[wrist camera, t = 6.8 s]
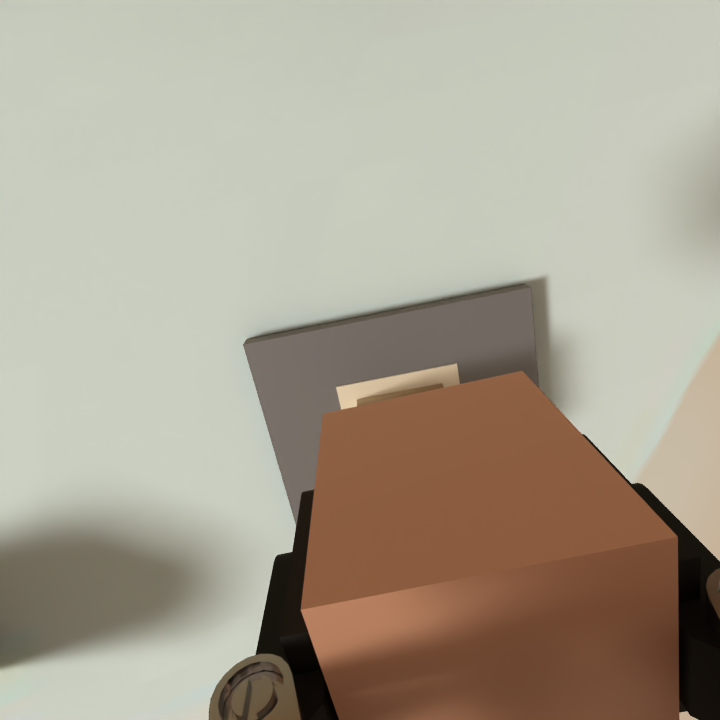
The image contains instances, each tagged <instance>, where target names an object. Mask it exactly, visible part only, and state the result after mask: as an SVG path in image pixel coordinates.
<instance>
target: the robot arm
mask: <svg viewBox="0 0 720 720" xmlns="http://www.w3.org/2000/svg"><path fill="white" fill-rule="evenodd" d="M582 435H583V436H584V437H585V438H586V439H587V440H588V441H589V443H590V444H591V445H592V446H593V447H594V448H595V449H596V450H597V451H598V452H599V453H600V454H601V455H602V456H603V457H604V459H605V460H606V461H607V462H608V463H609V464H610V465H611V466H612V467H613V468H614V469H615V470H616V471H617V472H618V473H619V475H620V476H621V477H622V478H623V479H624V480H625V481H626V482H627V483H628V484H629V485H630V486H631V487H632V488H633V489H634V491H635V492H636V493H637V494H638V495H639V496H640V497H641V498H642V499H643V500H644V501H645V502H646V503H647V504H648V505H649V507H650V508H651V509H652V510H653V511H654V512H655V513H656V514H657V515H658V516H659V517H660V518H661V519H662V520H663V521H664V523H665V524H666V525H667V526H668V527H669V528H670V529H671V530H672V531H673V532H674V533H675V534H676V535H677V536H678V620H679V712H685V711H688V712H689V714H690V716H692V717H695V718H696V719H698V720H720V561H719V560H717V558H716V557H715V556H713V554H712V553H711V552H710V551H709V550H708V549H707V548H706V547H705V546H704V545H703V544H702V543H701V542H700V541H699V540H698V539H697V538H696V537H695V536H694V535H693V534H692V533H691V532H690V531H689V530H688V529H687V528H686V527H685V526H684V525H683V524H682V523H681V522H680V521H679V520H678V519H677V518H676V517H675V516H674V515H673V514H672V513H671V512H670V511H669V510H668V509H667V508H666V507H665V506H664V505H663V504H662V503H661V502H660V501H659V500H658V499H657V498H656V497H655V496H654V494H652V492H650V490H649V489H648V488H646V487H645V486H644V485H643V484H640V483H635V484H631V483H630V482H629V481H628V480H627V479H626V478H625V477H624V476H623V474H622V473H621V472H620V471H619V470H618V469H617V468H616V467H615V466H614V465H613V464H612V463H611V462H610V461H609V460H608V459H607V458H606V457H605V455H604V454H603V453H602V452H601V451H600V450H599V449H598V448H597V447H596V446H595V445H594V444H593V443H592V442H591V441H590V440H589V439H588V438H587V436H585V435H584V434H582ZM313 497H314V490H309V491H304V492H302V494H301V499H300V506H299V512H298V519H297V525H296V532H295V538H294V545H293V552H290V553H285V554H280V555H277V556H276V558H275V561H274V565H273V570H272V575H271V580H270V585H269V590H268V595H267V600H266V605H265V610H264V615H263V620H262V626H261V631H260V636H259V641H258V646H257V651H256V655H255V656H251V657H248V658H246V659H244V660H243V661H241V662H239V663H237V664H236V665H235V666H233V667H232V668H231V669H230V670H229V671H228V672H227V673H226V674H225V675H224V676H223V677H222V679H221V680H220V682H219V683H218V684H217V686H216V688H215V690H214V692H213V695H212V697H211V700H210V707H209V720H339V718H338V715H337V713H336V710H335V707H334V704H333V701H332V698H331V695H330V692H329V690H328V687H327V684H326V681H325V678H324V675H323V672H322V670H321V667H320V664H319V661H318V658H317V655H316V652H315V649H314V647H313V644H312V641H311V638H310V635H309V632H308V629H307V626H306V624H305V621H304V618H303V615H302V612H301V603H302V594H303V585H304V576H305V568H306V559H307V550H308V541H309V532H310V523H311V515H312V506H313Z"/></svg>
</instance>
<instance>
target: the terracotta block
mask: <svg viewBox="0 0 720 720" xmlns="http://www.w3.org/2000/svg"><path fill="white" fill-rule="evenodd" d="M301 612H302V615H303V618H304V621H305V624H306V626H307V629H308V632H309V635H310V638H311V641H312V644H313V647H314V649H315V652H316V655H317V658H318V661H319V664H320V667H321V670H322V672H323V675H324V678H325V681H326V684H327V687H328V690H329V692H330V695H331V698H332V701H333V704H334V707H335V710H336V713H337V715H338V718H339V720H679V620H678V536H677V535H676V534H675V533H674V532H673V531H672V530H671V529H670V528H669V527H668V526H667V525H666V524H665V523H664V521H663V520H662V519H661V518H660V517H659V516H658V515H657V514H656V513H655V512H654V511H653V510H652V509H651V508H650V507H649V505H648V504H647V503H646V502H645V501H644V500H643V499H642V498H641V497H640V496H639V495H638V494H637V493H636V492H635V491H634V489H633V488H632V487H631V486H630V485H629V484H628V483H627V482H626V481H625V480H624V479H623V478H622V477H621V476H620V475H619V473H618V472H617V471H616V470H615V469H614V468H613V467H612V466H611V465H610V464H609V463H608V462H607V461H606V460H605V459H604V457H603V456H602V455H601V454H600V453H599V452H598V451H597V450H596V449H595V448H594V447H593V446H592V445H591V444H590V443H589V441H588V440H587V439H586V438H585V437H584V436H583V435H582V434H581V433H580V432H579V431H578V430H577V429H576V428H575V426H574V425H573V424H572V423H571V422H570V421H569V420H568V419H567V418H566V417H565V416H564V415H563V414H562V413H561V412H560V410H559V409H558V408H557V407H556V406H555V405H554V404H553V403H552V402H551V401H550V400H549V399H548V398H547V397H546V396H545V394H544V393H543V392H542V391H541V390H540V389H539V388H538V387H537V386H536V385H535V384H534V383H533V382H532V381H531V380H530V378H529V377H528V376H527V375H526V374H525V373H524V372H523V371H518V372H514V373H509V374H504V375H500V376H495V377H491V378H486V379H481V380H477V381H472V382H467V383H463V384H458V385H453V386H449V387H444V388H440V389H435V390H430V391H426V392H421V393H416V394H412V395H407V396H402V397H398V398H393V399H388V400H384V401H379V402H375V403H370V404H365V405H361V406H356V407H351V408H347V409H342V410H337V411H333V412H328V413H324V414H323V417H322V426H321V435H320V444H319V453H318V461H317V470H316V479H315V488H314V497H313V506H312V515H311V523H310V532H309V541H308V550H307V559H306V568H305V576H304V585H303V594H302V603H301Z"/></svg>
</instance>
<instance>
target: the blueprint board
mask: <svg viewBox="0 0 720 720" xmlns="http://www.w3.org/2000/svg"><path fill="white" fill-rule="evenodd" d="M243 346H244V349H245V353H246V356H247V359H248V363H249V366H250V370H251V373H252V376H253V380H254V383H255V387H256V390H257V393H258V397H259V400H260V404H261V407H262V411H263V414H264V417H265V421H266V424H267V428H268V431H269V434H270V438H271V441H272V445H273V448H274V451H275V455H276V458H277V462H278V465H279V468H280V472H281V475H282V479H283V482H284V485H285V489H286V492H287V496H288V499H289V503H290V506H291V509H292V513H293V516H294V520H295V523H296V525H297V519H298V512H299V506H300V499H301V494H302V492H304V491H309V490H314V488H315V479H316V470H317V461H318V453H319V444H320V435H321V426H322V417H323V414H324V413H328V412H333V411H337V410H342V409H347V408H351V407H356V406H357V399H362V398H367V397H373V396H378V395H383V394H388V393H393V392H399V391H404V390H409V389H414V388H419V387H425V386H430V385H435V384H440V383H442V384H443V386H444V387H449V386H453V385H458V384H463V383H467V382H472V381H477V380H481V379H486V378H491V377H495V376H500V375H504V374H509V373H514V372H518V371H523V372H524V373H525V374H526V375H527V376H528V377H529V378H530V380H531V381H532V382H533V383H534V384H535V385H536V386H537V387H538V388H539V385H538V372H537V360H536V347H535V335H534V322H533V310H532V297H531V288H530V287H529V286H527V285H525V284H522V285H517V286H512V287H507V288H502V289H497V290H492V291H487V292H482V293H477V294H472V295H467V296H462V297H457V298H452V299H447V300H442V301H437V302H432V303H427V304H422V305H417V306H412V307H407V308H402V309H397V310H392V311H387V312H382V313H377V314H372V315H367V316H362V317H357V318H352V319H347V320H342V321H337V322H332V323H327V324H322V325H317V326H312V327H307V328H302V329H297V330H292V331H287V332H282V333H276V334H271V335H266V336H261V337H256V338H251V339H247V340H246V341H245V343H244V344H243Z"/></svg>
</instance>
